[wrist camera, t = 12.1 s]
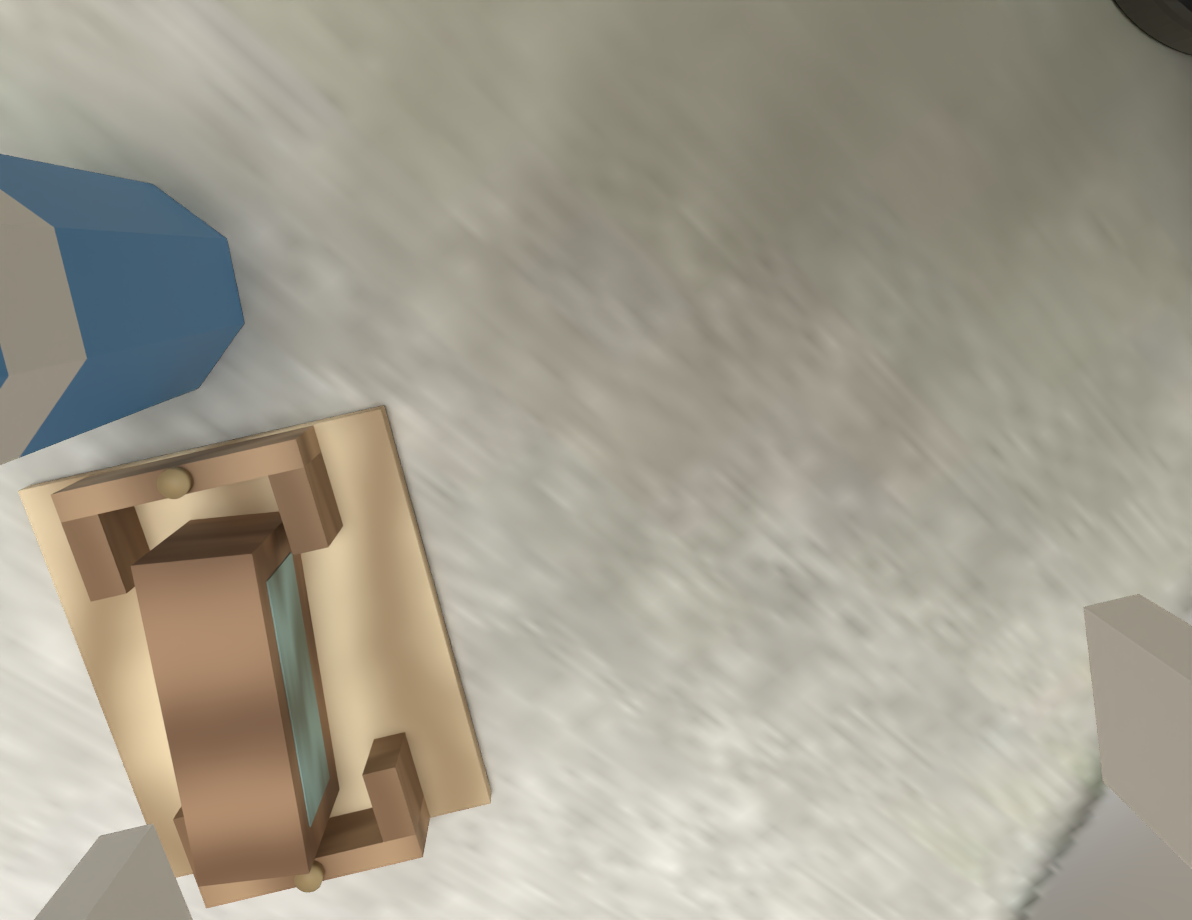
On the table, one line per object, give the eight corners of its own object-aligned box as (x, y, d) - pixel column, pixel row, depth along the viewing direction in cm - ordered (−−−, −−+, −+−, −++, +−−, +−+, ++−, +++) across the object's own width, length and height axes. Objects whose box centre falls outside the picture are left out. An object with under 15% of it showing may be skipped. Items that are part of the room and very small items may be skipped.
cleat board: (384, 405, 40) (365, 424, 35) (491, 791, 44) (486, 851, 40) (30, 485, 39) (-34, 514, 35) (175, 865, 44) (135, 934, 40)
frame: (188, 520, 39) (128, 565, 33) (294, 509, 39) (253, 553, 34) (243, 800, 42) (197, 886, 37) (340, 789, 43) (310, 873, 37)
